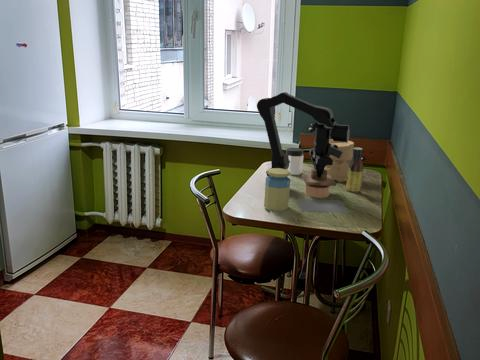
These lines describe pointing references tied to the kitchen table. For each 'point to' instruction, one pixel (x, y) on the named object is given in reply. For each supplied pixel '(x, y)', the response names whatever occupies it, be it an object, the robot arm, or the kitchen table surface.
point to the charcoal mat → (322, 206)
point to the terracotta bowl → (317, 190)
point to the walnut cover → (318, 179)
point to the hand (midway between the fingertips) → (318, 176)
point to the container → (340, 161)
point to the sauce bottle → (355, 171)
